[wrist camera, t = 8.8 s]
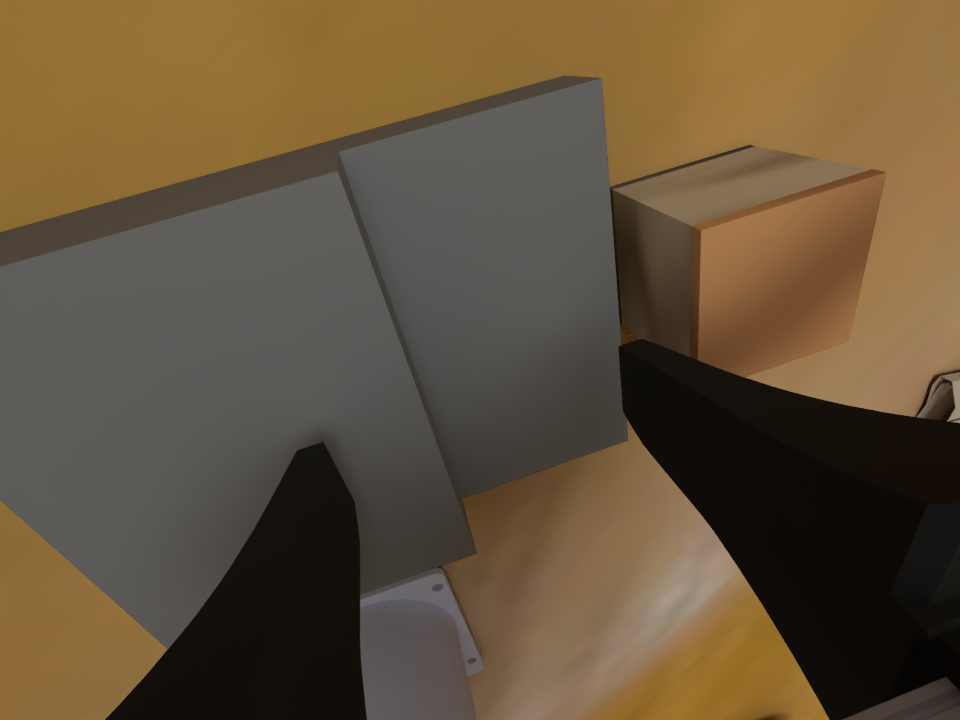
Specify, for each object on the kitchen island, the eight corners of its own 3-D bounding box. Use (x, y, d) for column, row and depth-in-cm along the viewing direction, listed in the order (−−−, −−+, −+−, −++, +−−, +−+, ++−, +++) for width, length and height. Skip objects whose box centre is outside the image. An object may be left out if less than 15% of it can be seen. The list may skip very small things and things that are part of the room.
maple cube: (697, 393, 15) (617, 320, 19) (848, 341, 15) (737, 281, 19) (701, 230, 12) (606, 186, 16) (886, 171, 12) (747, 144, 16)
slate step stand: (599, 403, 20) (663, 486, 16) (213, 534, 19) (180, 659, 15) (563, 75, 14) (654, 80, 10) (-28, 240, 13) (-200, 322, 9)
